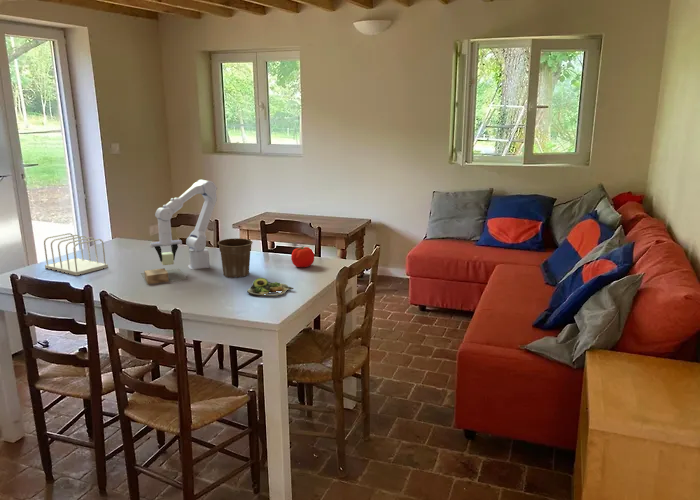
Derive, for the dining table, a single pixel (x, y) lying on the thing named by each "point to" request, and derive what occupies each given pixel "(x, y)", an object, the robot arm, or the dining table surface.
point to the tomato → (302, 257)
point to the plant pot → (235, 257)
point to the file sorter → (75, 258)
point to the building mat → (171, 275)
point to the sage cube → (167, 258)
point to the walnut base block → (156, 276)
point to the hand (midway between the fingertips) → (167, 260)
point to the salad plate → (267, 288)
